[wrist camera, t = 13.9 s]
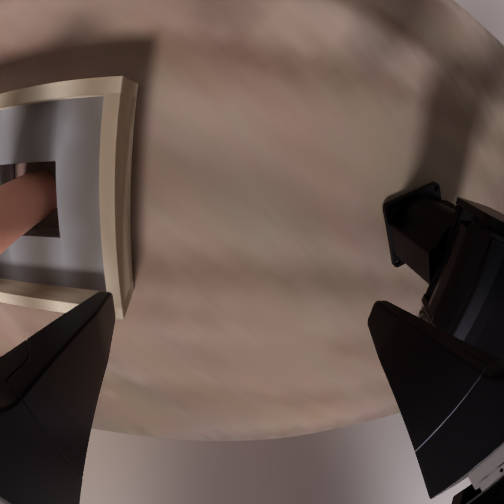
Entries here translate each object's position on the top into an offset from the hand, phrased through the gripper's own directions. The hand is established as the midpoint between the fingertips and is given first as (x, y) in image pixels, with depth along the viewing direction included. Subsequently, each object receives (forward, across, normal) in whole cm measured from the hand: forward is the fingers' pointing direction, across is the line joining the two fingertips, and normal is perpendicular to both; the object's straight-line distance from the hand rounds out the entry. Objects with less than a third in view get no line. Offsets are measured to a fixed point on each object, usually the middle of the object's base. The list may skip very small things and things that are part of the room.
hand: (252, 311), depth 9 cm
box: (+13, +15, 0) cm, 20 cm away
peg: (+13, +15, 0) cm, 20 cm away
